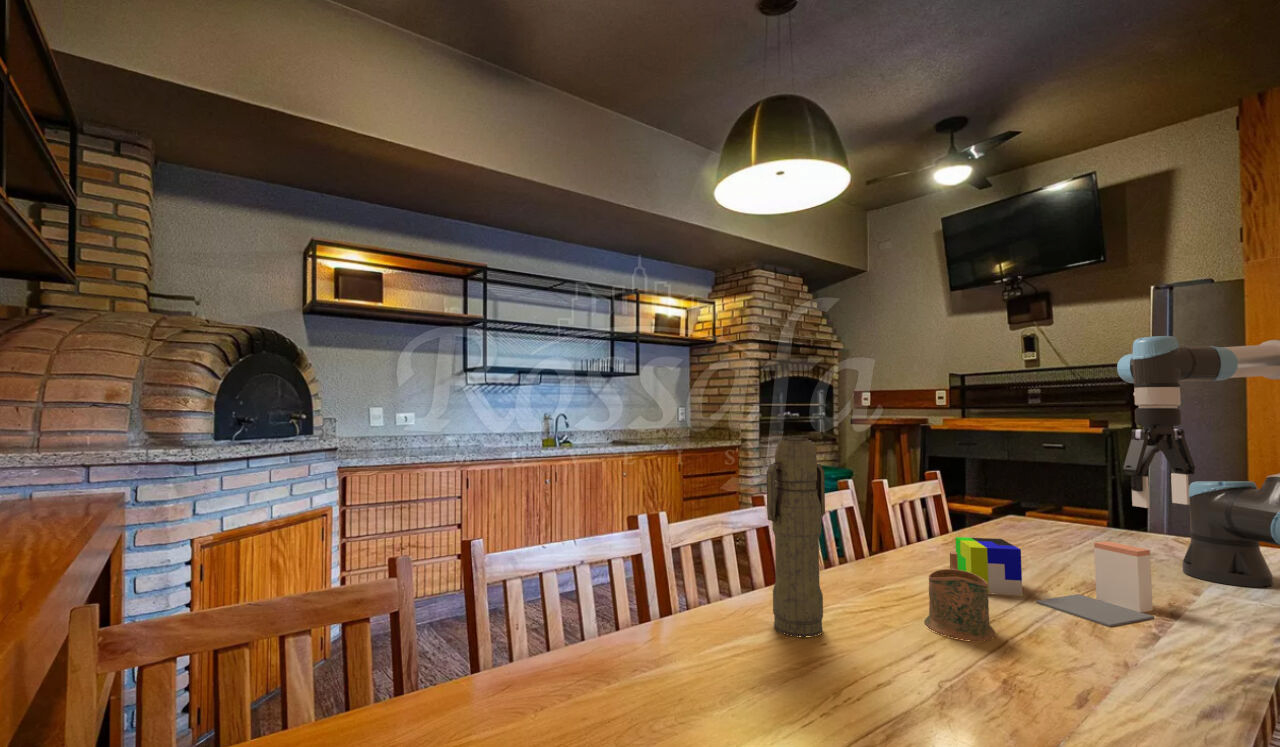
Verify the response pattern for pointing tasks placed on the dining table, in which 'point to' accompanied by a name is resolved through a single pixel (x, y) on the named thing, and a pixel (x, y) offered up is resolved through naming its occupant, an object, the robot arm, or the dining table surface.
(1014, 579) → the puzzle toy
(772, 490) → the robed figure statue
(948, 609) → the brown hat
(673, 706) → the dining table surface
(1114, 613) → the mat
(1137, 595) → the tall block
